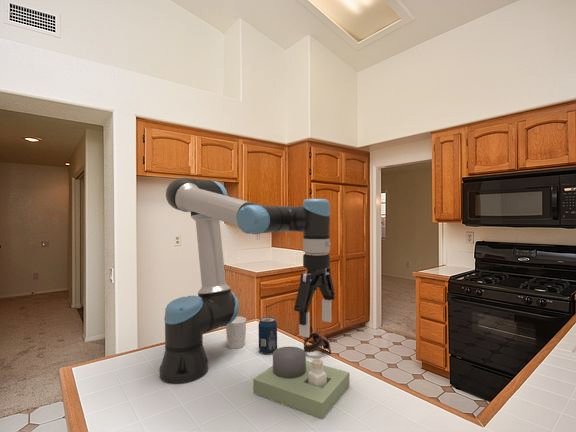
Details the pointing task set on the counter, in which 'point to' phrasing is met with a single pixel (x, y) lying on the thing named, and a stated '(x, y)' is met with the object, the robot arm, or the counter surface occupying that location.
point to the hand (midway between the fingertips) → (316, 328)
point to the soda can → (267, 335)
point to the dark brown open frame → (316, 342)
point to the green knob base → (299, 383)
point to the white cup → (236, 333)
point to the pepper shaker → (317, 374)
